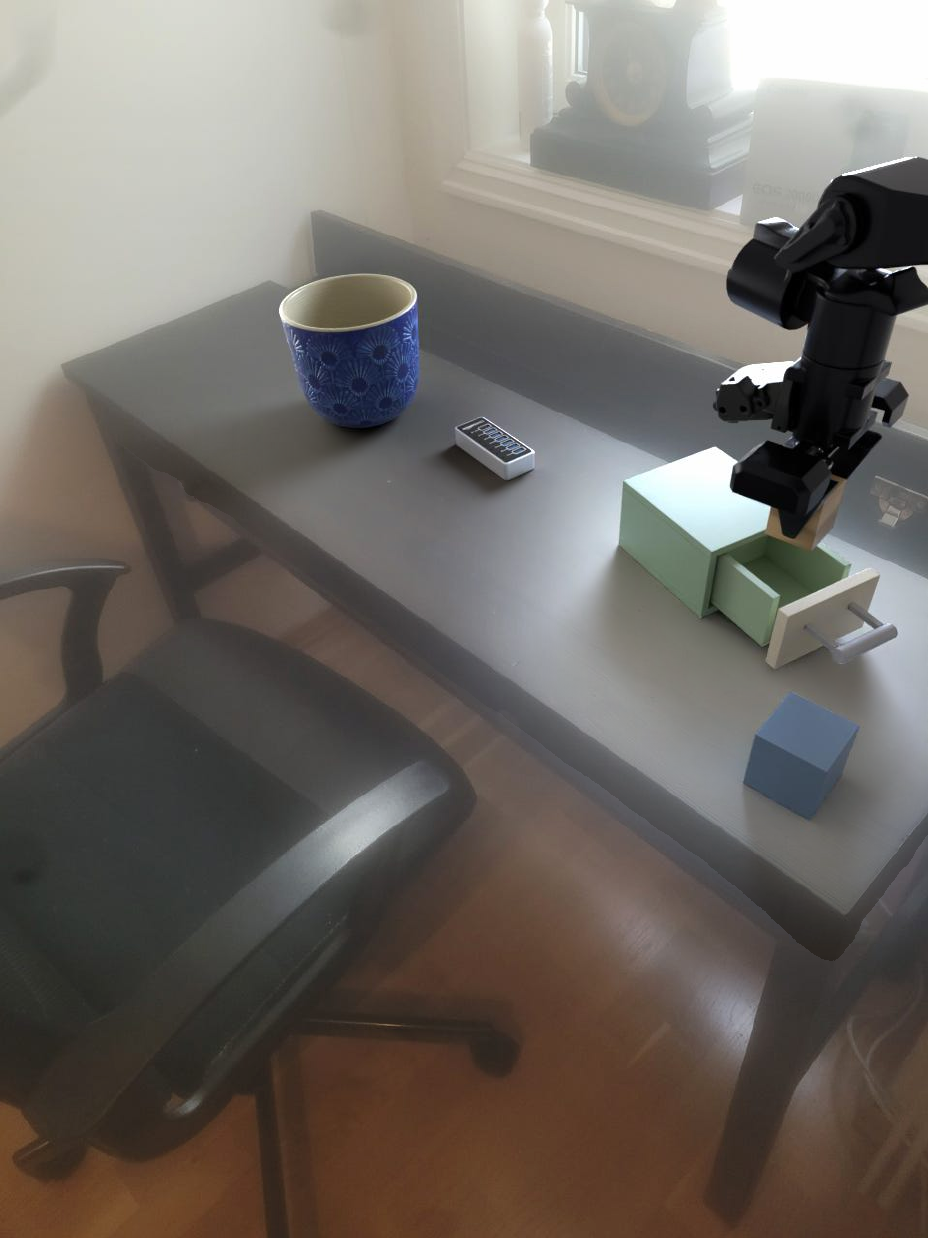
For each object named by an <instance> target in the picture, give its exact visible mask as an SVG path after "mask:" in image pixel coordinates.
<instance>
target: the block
mask: <svg viewBox="0 0 928 1238" xmlns="http://www.w3.org/2000/svg"><path fill="white" fill-rule="evenodd" d="M830 479H832V480H835V481H838V482H839V484H838V485H837V487H836V488H835V489H834V490H833V492H832V493H831V494H830V496H829V497H828V498H827V499H826V500H825V502H824V503H823V504H822V505H821V507H820V508H819V509H818V511H817V512H816V513H815V514H814V516H813V517H812V518H811V519H810V521H809V522H808V523H807V524H806V526H805V527H804V528H803V529H802V531H801V532H800V533H799V534H798V536H797V537H796V538H795V539H791V538H788V537H786V536H784V535H783V534H782V530H781V525H780V519H779V513H778V509H776V508H773V507H771V508H770V513H769V517H768V522H767V527H766V531H765V534H767V535H770V536H772V537H775V538H777V539H780V540H782V541H785V542H787V543H790V544H793V545H795V546H798V547H800V548H803V549H805V550H808V551H810V552H811V551H812V550H813V549H814V548H815V547H816V546H817V545H818V544H819V543H820V542H822V540H823V539H824V538H825V537H826V536H827V535H828V534H829V533H830V532H831V531H832V530H833V529H834V526H835V522H836V519H837V516H838V512H839V508H840V505H841V500H842V498H843V494H844V491H845V486H846V484H847V481H846V479H844V478H841V477H838V476H835V475H832V474H831V478H830Z"/></svg>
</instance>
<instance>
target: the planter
mask: <svg viewBox="0 0 928 1238" xmlns="http://www.w3.org/2000/svg"><path fill="white" fill-rule="evenodd" d="M418 310H419V309H418V293H417V291H416V289H415V288H414V286H412V285H411V284H410V283H409V282H407V281H405V280H403V279H400V278H398V277H395V276H391V275H387V274H386V275H385V274H384V275H383V274H377V273H351V274H344V275H343V274H342V275H336V276H330V277H327V278H323V279H318V280H315V281H313V282H310V283H308V284H305V285H303V286H300V287H299V288H297V289H295V290H294V291H292V292H290V293H289V294H288V295H287V296H286V297H285V298H284V299H283V300H282V302H281V303H280V305H279V312H278V313H279V316H280V320H281V323H282V324H281V325H282V326H283V331H284V334H285V337H286V341H287V344H288V348H289V351H290V354H291V358H292V361H293V364H294V369H295V371H296V375H297V378H298V382H299V385H300V388H301V391H302V393H303V395H304V397H305V399H306V400H307V402H308V404H309V405H310V407H311V408H312V409H313V411H314V412H315V413H316V414H317V415H318V416H320V417H321V418H323V419H324V420H326V421H327V422H329V423H331V424H333V425H336V426H339V427H344V428H350V429H366V428H371V427H373V428H374V427H377V426H380V425H384V424H386V423H389V422H390V421H392V420H394V419H395V418H398V417H399V416H400V415H402V413H404V411H405V410H406V409H407V408H408V407H409V406H410V405H411V403H412V401H413V400H414V398H415V395H416V393H417V389H418V385H419V379H420V347H419V345H420V344H419V318H418V316H419V314H418V313H419V312H418Z"/></svg>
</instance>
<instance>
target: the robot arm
mask: <svg viewBox="0 0 928 1238" xmlns="http://www.w3.org/2000/svg"><path fill="white" fill-rule="evenodd" d="M816 206H817V207H816V209H815V210H814V211H813V212H812V214H811V215H810V216H809V217H808V218H807V219H806V220H805V221H804V223H803V224H802V225H800V227H799V228H798V227H795V226H793V225H792V224H791V223H790V222H788V221H787V220H785V219H782V218H780V217H773V218H769V219H765V220H762V221H758V222H756V223H755V224H754V230H753V237H752V238H751V239H750V240H749V241H748V242H746V244H744V245H743V247H742V248H741V249H740V250H739V252H738V253H737V254H736V257H735V258H734V261H733V262H732V265H731V267H730V269H728V270H727V274H726V280H725V289H726V294H727V296H728V298H729V300H730V301H731V302H732V303H733V304H734V305H736V306H738V307H740V308H741V309H744V310H746V311H748V312H749V313H752V314H754V315H756V316H757V317H759V318H761V319H763V320H766V321H768V322H769V323H772V324H774V325H776V326H778V327H779V328H782V329H784V330H786V331H787V330H788V331H796V330H799V329H802V328H804V327H806V332H805V336H804V341H803V345H802V350H801V355H800V357H799V358H798V359H796V361H795V362H794V361H783V362H782V361H779V362H770V363H756V364H749V365H746V366H743V367H741V368H739V369H738V370H737V371H735V372H734V373H732V374H731V375H729V377H728V378H726V379H725V380H724V381H722V382H721V383H720V384H719V388H717V389H716V390H714V391H715V401H714V402H712V408H713V410H714V411H715V412H717V417H718V418H719V419H720V420H721V421H723V422H724V423H728V424H738V423H739V422H748V421H768V420H771V424H770V429H771V430H773V431H776V432H779V433H781V434H782V433H783V434H786V433H787V432H790V433H791V437H790V438H788V439H787V440H786V441H785V442H784V443H783V444H780V443H777V442H774V441H771V440H768V439H767V440H765V441H763V442H761V443H759V444H757V445H755V446H753V447H752V448H751V449H750V450H749V451H748V452H747V453H745V455H743V456H742V457H741V458H740V459H739V460H738V461H737V463H736V464H735V465H733V468H732V474H731V480H730V486H729V487H730V489H731V491H732V492H733V493H736V494H739V495H741V496H744V497H747V498H749V499H752V500H755V501H757V502H760V503H763V504H765V505H768V506H771V507H773V508H776V509H778V513H779V519H780V525H781V530H782V534H783V535H784V536H786V537H788V538H791V539H795V538H796V537H797V536H798V534H799V533H800V532H801V531H802V529H803V528H804V527H805V526H806V524H807V523H808V522H809V521H810V519H811V518H812V517H813V516H814V514H815V513H816V512H817V511H818V509H819V508H820V507H821V505H822V504H823V503H824V502H825V500H826V499H827V498H828V497H829V496H830V494H831V493H832V492H833V490H834V489H835V488H836V487H837V485H838V484H839V482H838V481H835V480H832V479H830V478H831V474H832V475H835V476H838V477H841V478H844V479H846V482H847V480H849V479H850V477H851V476H852V475H853V474H854V473H855V472H856V470H858V468H859V467H860V466H861V465H862V463H863V462H864V461H865V460H866V459H867V457H868V456H869V455H870V454H871V453H872V452H873V450H875V448H876V447H877V446H878V445H879V443H881V441H882V440H883V435H882V434H881V433H879V432H876V431H873V430H870V429H871V428H872V427H873V426H874V425H875V424H876V420H877V416H878V413H879V411H883V416H882V419H881V424H882V427H886V428H890V429H891V428H892V427H893V426H894V425H895V424H896V423H897V421H898V420H899V419H901V417H903V415H904V413H905V409H906V406H907V403H908V399H909V397H910V394H909V393H908V391H907V389H906V388H905V387H904V385H903V383H902V382H901V381H898V380H895V379H891V378H888V376H889V375H890V371H891V368H892V364H893V362H892V361H890V360H886V356H887V352H888V349H889V345H890V342H891V339H892V334H893V331H894V329H895V324H896V321H897V316H899V315H902V314H905V313H908V312H910V311H914V310H917V309H920V308H922V307H925V306H928V285H927V284H925V282H923V280H922V279H921V278H920V275H919V274H918V270H917V266H928V158H924V157H921V156H912V157H911V156H910V157H904V158H901V159H897V160H892V161H890V162H885V163H882V164H878V165H874V166H871V167H866V168H863V169H860V170H856V171H852V172H848V173H844V174H841V175H838V176H836V177H834V178H832V179H831V180H830V182H829V184H828V185H827V186H826V187H825V188H824V190H823V192H822V194H821V196H820V199H819V200H818V202H817V205H816ZM897 268H902V269H898V270H895V271H891V270H889V269H897ZM873 409H876V410H873ZM877 410H879V411H877Z"/></svg>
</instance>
